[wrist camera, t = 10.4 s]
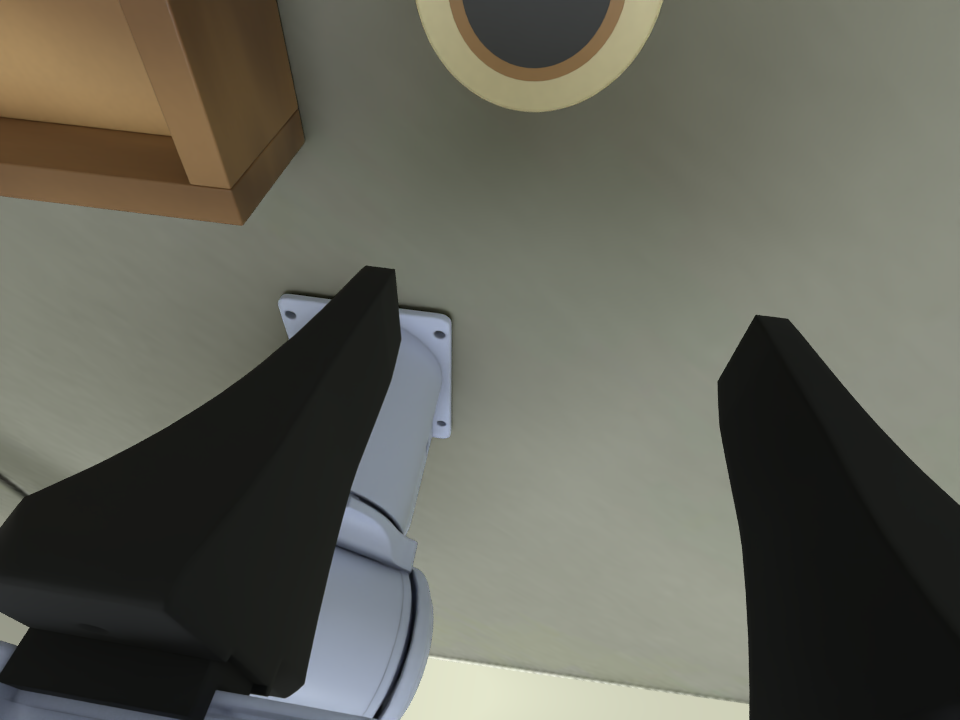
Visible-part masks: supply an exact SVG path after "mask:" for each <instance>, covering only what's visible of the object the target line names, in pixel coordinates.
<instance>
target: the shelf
mask: <svg viewBox="0 0 960 720" xmlns="http://www.w3.org/2000/svg"><path fill="white" fill-rule="evenodd" d="M304 143H305V139H304V134H303V129H302V124H301V119H300V114H299V110H298V104H297V100H296V95H295V90H294V85H293V80H292V75H291V70H290V65H289V61H288V56H287V51H286V46H285V41H284V36H283V31H282V27H281V22H280V17H279V12H278V7H277V2H276V0H0V196H5V197H13V198H21V199H29V200H37V201H46V202H54V203H62V204H70V205H78V206H86V207H94V208H102V209H111V210H119V211H127V212H135V213H143V214H151V215H159V216H167V217H176V218H184V219H192V220H200V221H208V222H216V223H224V224H232V225H241V226H242V225H244V223H245V222H246V221H247V219H248V218H249V217H250V215H251V214H252V213H253V211H254V210H255V209H256V207H257V206H258V205H259V203H260V202H261V201H262V199H263V198H264V197H265V195H266V194H267V192H268V191H269V190H270V188H271V187H272V186H273V184H274V183H275V182H276V180H277V179H278V178H279V176H280V175H281V174H282V172H283V171H284V170H285V168H286V167H287V166H288V164H289V163H290V162H291V160H292V159H293V157H294V156H295V155H296V153H297V152H298V151H299V149H300V148H301V147H302V145H303V144H304Z"/></svg>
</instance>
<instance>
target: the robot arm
mask: <svg viewBox="0 0 960 720" xmlns="http://www.w3.org/2000/svg"><path fill="white" fill-rule="evenodd" d="M278 307H279V310H280V313H281V316H282V319H283V322H284V325H285V329H286V332H287V335H288V338H289V340H288V341H287V342H286V343H284V344H283V345H282V346H281V347H280V348H279V349H277V350H276V351H275V352H274V353H273V354H271V355H270V356H269V357H268V358H267V359H266V360H264V361H263V362H262V363H261V364H259V365H258V366H257V367H256V368H254V369H253V370H252V371H250V372H249V373H248V374H247V375H245V376H244V377H243V378H241V379H240V380H238V381H237V382H236V383H234V384H233V385H232V386H230V387H229V388H227V389H226V390H225V391H223V392H222V393H220V394H219V395H217V396H216V397H214V398H213V399H211V400H210V401H208V402H207V403H205V404H204V405H202V406H200V407H199V408H197V409H196V410H194V411H192V412H191V413H189V414H188V415H186V416H184V417H183V418H181V419H180V420H178V421H176V422H175V423H173V424H171V425H170V426H168V427H166V428H165V429H163V430H161V431H159V432H158V433H156V434H154V435H152V436H150V437H149V438H147V439H145V440H143V441H141V442H140V443H138V444H136V445H134V446H132V447H130V448H128V449H126V450H124V451H122V452H120V453H118V454H117V455H115V456H113V457H111V458H109V459H107V460H105V461H103V462H101V463H99V464H97V465H95V466H93V467H90V468H88V469H86V470H84V471H82V472H79V473H77V474H75V475H73V476H71V477H68V478H66V479H64V480H62V481H60V482H58V483H55V484H53V485H51V486H49V487H47V488H44V489H42V490H40V491H38V492H35V493H33V494H31V495H28V496H26V497H24V498H23V499H22V501H21V502H20V503H19V504H18V505H17V507H16V508H15V509H14V510H13V512H12V513H11V514H10V516H9V517H8V518H7V519H6V521H5V522H4V523H3V525H2V526H1V527H0V612H1V613H3V614H5V615H7V616H9V617H11V618H13V619H15V620H16V621H18V622H20V623H22V624H24V625H26V626H28V627H30V628H29V629H28V631H27V633H26V634H25V636H24V637H23V639H22V640H21V642H20V643H19V645H18V646H16V645H13V644H10V643H7V642H3V641H0V720H400V719H401V717H402V716H403V714H404V713H405V711H406V710H407V708H408V706H409V705H410V703H411V701H412V699H413V697H414V695H415V693H416V690H417V688H418V686H419V683H420V681H421V678H422V675H423V672H424V669H425V666H426V663H427V659H428V655H429V651H430V646H431V640H432V633H433V605H432V600H431V596H430V590H429V585H428V582H427V580H426V577H425V575H424V574H423V573H422V572H421V571H420V570H419V569H417V568H415V567H413V562H414V558H415V553H416V549H417V545H418V543H417V542H416V541H415V540H412V539H410V538H408V537H407V536H406V534H407V532H408V530H409V527H410V524H411V521H412V517H413V513H414V509H415V504H416V500H417V496H418V492H419V488H420V484H421V480H422V476H423V472H424V467H425V463H426V459H427V455H428V451H429V447H430V443H431V439H432V437H436V438H448V437H449V436H450V434H451V390H452V323H451V320H450V318H449V317H447V316H446V315H444V314H439V313H431V312H424V311H416V310H409V309H401V308H399V307H398V297H397V286H396V276H395V269H388V268H380V267H372V266H365V267H364V268H362V269H361V270H360V271H359V272H358V273H357V274H356V275H355V276H354V277H353V278H352V279H351V280H350V281H349V282H348V283H347V284H346V285H345V286H344V287H343V289H342V290H341V291H340V292H339V293H338V294H337V295H336V296H335V297H334V298H333V299H324V298H317V297H309V296H301V295H294V294H283V295H282V296H281V297H280V299H279V301H278ZM292 312H293V313H292ZM438 331H442V332H443V333H440V332H438ZM718 409H719V425H720V431H721V437H722V443H723V448H724V453H725V458H726V464H727V469H728V474H729V479H730V484H731V489H732V494H733V499H734V504H735V509H736V514H737V519H738V524H739V530H740V537H741V544H742V553H743V565H744V577H745V589H746V606H747V624H748V647H749V687H750V703H749V706H750V707H749V708H750V711H749V715H750V716H749V720H960V505H959V504H958V503H956V502H955V501H954V500H953V499H952V498H951V497H950V496H949V495H948V494H947V493H946V492H945V491H943V490H942V489H941V488H940V487H939V486H938V485H937V484H936V483H935V482H934V481H933V480H932V479H930V478H929V477H928V476H927V475H926V474H925V473H924V472H923V471H922V470H921V469H920V468H919V467H918V466H917V465H916V464H915V463H914V462H913V461H912V460H911V459H910V458H909V457H908V456H907V455H906V454H905V453H904V452H903V451H902V450H901V449H900V448H899V447H898V446H897V445H896V444H895V443H894V442H893V441H892V439H891V438H890V437H889V436H888V435H887V434H886V433H885V432H884V431H883V430H882V429H881V428H880V427H879V426H878V425H877V423H876V422H875V421H874V420H873V419H872V418H871V417H870V416H869V415H868V413H867V412H866V411H865V410H864V409H863V408H862V407H861V406H860V404H859V403H858V402H857V401H856V400H855V399H854V397H853V396H852V395H851V394H850V393H849V392H848V390H847V389H846V388H845V387H844V386H843V384H842V383H841V382H840V381H839V380H838V378H837V377H836V376H835V375H834V374H833V372H832V371H831V370H830V369H829V368H828V366H827V365H826V364H825V363H824V361H823V360H822V359H821V358H820V357H819V355H818V354H817V353H816V352H815V350H814V349H813V348H812V347H811V346H810V344H809V343H808V342H807V341H806V339H805V338H804V337H803V336H802V335H801V333H800V332H799V331H798V330H797V329H796V327H795V326H794V325H793V324H792V323H791V322H790V321H789V320H788V319H785V318H777V317H769V316H761V315H755V317H754V319H753V321H752V322H751V324H750V326H749V327H748V329H747V331H746V333H745V334H744V336H743V338H742V340H741V341H740V343H739V345H738V347H737V348H736V350H735V352H734V354H733V355H732V357H731V359H730V361H729V362H728V364H727V366H726V368H725V369H724V371H723V373H722V375H721V376H720V378H719V380H718Z"/></svg>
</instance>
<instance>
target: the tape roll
mask: <svg viewBox="0 0 960 720" xmlns="http://www.w3.org/2000/svg"><path fill="white" fill-rule="evenodd" d="M662 3H663V0H416V5H417V10H418V13H419V16H420V19H421V23H422V26H423V28H424V31H425V33H426V35H427V37H428V40H429V42H430V44H431V46H432V47H433V49H434V51H435V52H436V54H437V56H438V57H439V59H440V60H441V61H442V63H443V64H444V65H445V67H446V68H447V69H448V71H449V72H450V73H451V74H452V75H453V76H454V77H455V78H456V79H457V80H458V81H459V82H460V83H461V84H463V85H464V86H465V87H466V88H467V89H469V90H470V91H471V92H473V93H474V94H476V95H478V96H479V97H481V98H482V99H484V100H486V101H489V102H491V103H493V104H495V105H498V106H501V107H504V108H507V109H511V110H517V111H523V112H545V111H553V110H558V109H562V108H567V107H569V106H572V105H575V104H578V103H580V102H582V101H584V100H586V99H588V98H590V97H592V96H594V95H596V94H597V93H599V92H600V91H601V90H603V89H604V88H606V87H607V86H609V85H610V84H611V83H612V82H613V81H614V80H615V79H617V78H618V77H619V76H620V75H621V74H622V73H623V72H624V71H625V70H626V68H627V67H628V66H629V65H630V64H631V63H632V62H633V60H634V59H635V57H636V56H637V55H638V53H639V52H640V51H641V49H642V48H643V46H644V44H645V42H646V41H647V39H648V37H649V35H650V34H651V32H652V29H653V27H654V25H655V22H656V20H657V18H658V16H659V12H660V9H661V6H662Z"/></svg>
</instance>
